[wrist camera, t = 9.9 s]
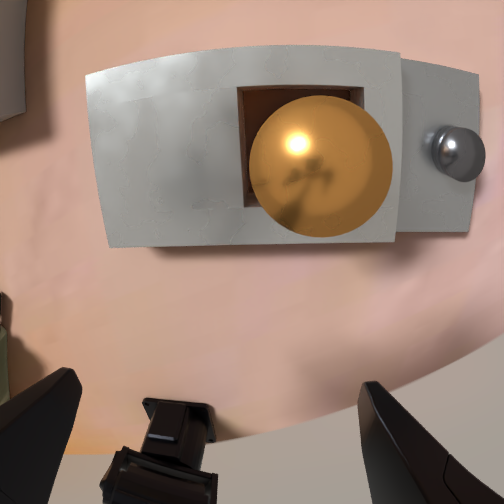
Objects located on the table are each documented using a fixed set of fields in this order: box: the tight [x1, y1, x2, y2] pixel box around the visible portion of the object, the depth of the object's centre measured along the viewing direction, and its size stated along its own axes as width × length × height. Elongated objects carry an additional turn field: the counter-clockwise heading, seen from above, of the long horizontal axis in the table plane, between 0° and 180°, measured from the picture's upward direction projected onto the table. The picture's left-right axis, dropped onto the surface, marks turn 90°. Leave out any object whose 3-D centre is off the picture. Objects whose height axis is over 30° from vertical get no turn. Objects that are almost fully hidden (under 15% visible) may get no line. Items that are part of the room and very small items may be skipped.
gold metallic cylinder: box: [249, 95, 393, 238], centre depth 13 cm, size 4×4×9 cm
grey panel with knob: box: [85, 45, 485, 248], centre depth 16 cm, size 10×22×3 cm, turn 93°
